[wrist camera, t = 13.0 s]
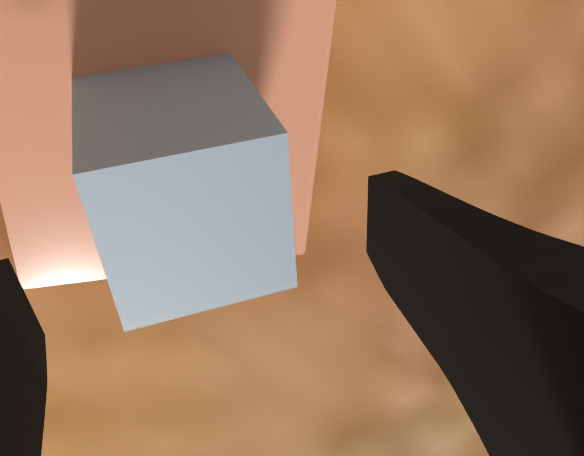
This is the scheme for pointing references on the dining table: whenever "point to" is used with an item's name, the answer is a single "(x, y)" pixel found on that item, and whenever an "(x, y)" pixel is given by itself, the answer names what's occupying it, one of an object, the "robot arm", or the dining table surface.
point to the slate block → (183, 187)
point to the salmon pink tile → (126, 55)
